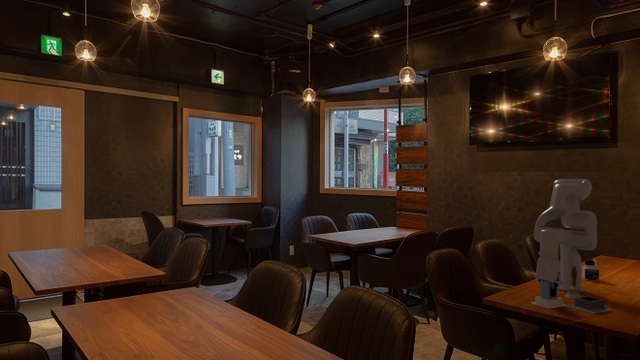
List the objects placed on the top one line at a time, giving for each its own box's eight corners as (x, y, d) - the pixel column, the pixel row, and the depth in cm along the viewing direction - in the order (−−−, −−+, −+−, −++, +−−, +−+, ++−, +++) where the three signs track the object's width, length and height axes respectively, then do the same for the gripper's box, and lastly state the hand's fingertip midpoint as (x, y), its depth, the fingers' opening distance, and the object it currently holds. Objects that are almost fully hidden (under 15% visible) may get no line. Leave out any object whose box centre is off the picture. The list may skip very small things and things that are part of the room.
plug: (540, 303, 200) (540, 276, 200) (549, 302, 203) (549, 275, 203) (547, 305, 197) (548, 278, 197) (557, 304, 199) (557, 277, 199)
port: (567, 307, 197) (567, 296, 197) (585, 304, 201) (585, 294, 201) (593, 315, 186) (593, 303, 186) (611, 312, 190) (611, 300, 190)
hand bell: (586, 299, 211) (586, 267, 211) (578, 302, 206) (578, 269, 206) (569, 295, 217) (569, 264, 217) (560, 298, 213) (560, 266, 213)
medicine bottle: (584, 280, 251) (584, 260, 251) (582, 277, 258) (582, 257, 258) (599, 281, 249) (599, 260, 249) (596, 278, 255) (596, 258, 255)
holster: (530, 304, 202) (530, 296, 202) (548, 301, 207) (548, 293, 207) (549, 310, 193) (549, 301, 193) (567, 307, 197) (567, 299, 197)
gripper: (528, 253, 206) (528, 291, 206) (559, 259, 190) (559, 300, 190) (539, 252, 209) (539, 290, 209) (571, 258, 193) (571, 299, 193)
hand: (548, 294), depth 200 cm, fingers closed on plug, 4 cm apart
